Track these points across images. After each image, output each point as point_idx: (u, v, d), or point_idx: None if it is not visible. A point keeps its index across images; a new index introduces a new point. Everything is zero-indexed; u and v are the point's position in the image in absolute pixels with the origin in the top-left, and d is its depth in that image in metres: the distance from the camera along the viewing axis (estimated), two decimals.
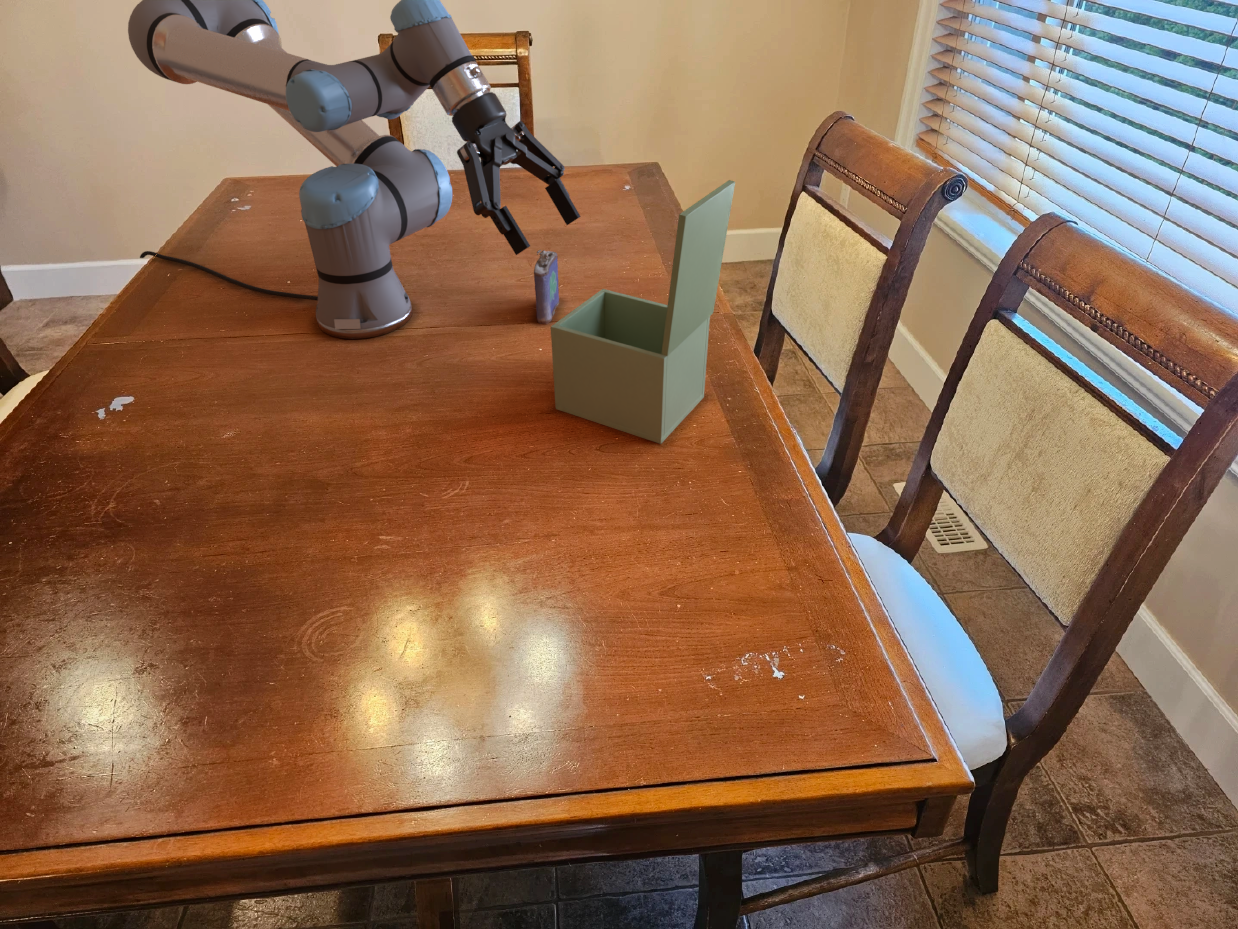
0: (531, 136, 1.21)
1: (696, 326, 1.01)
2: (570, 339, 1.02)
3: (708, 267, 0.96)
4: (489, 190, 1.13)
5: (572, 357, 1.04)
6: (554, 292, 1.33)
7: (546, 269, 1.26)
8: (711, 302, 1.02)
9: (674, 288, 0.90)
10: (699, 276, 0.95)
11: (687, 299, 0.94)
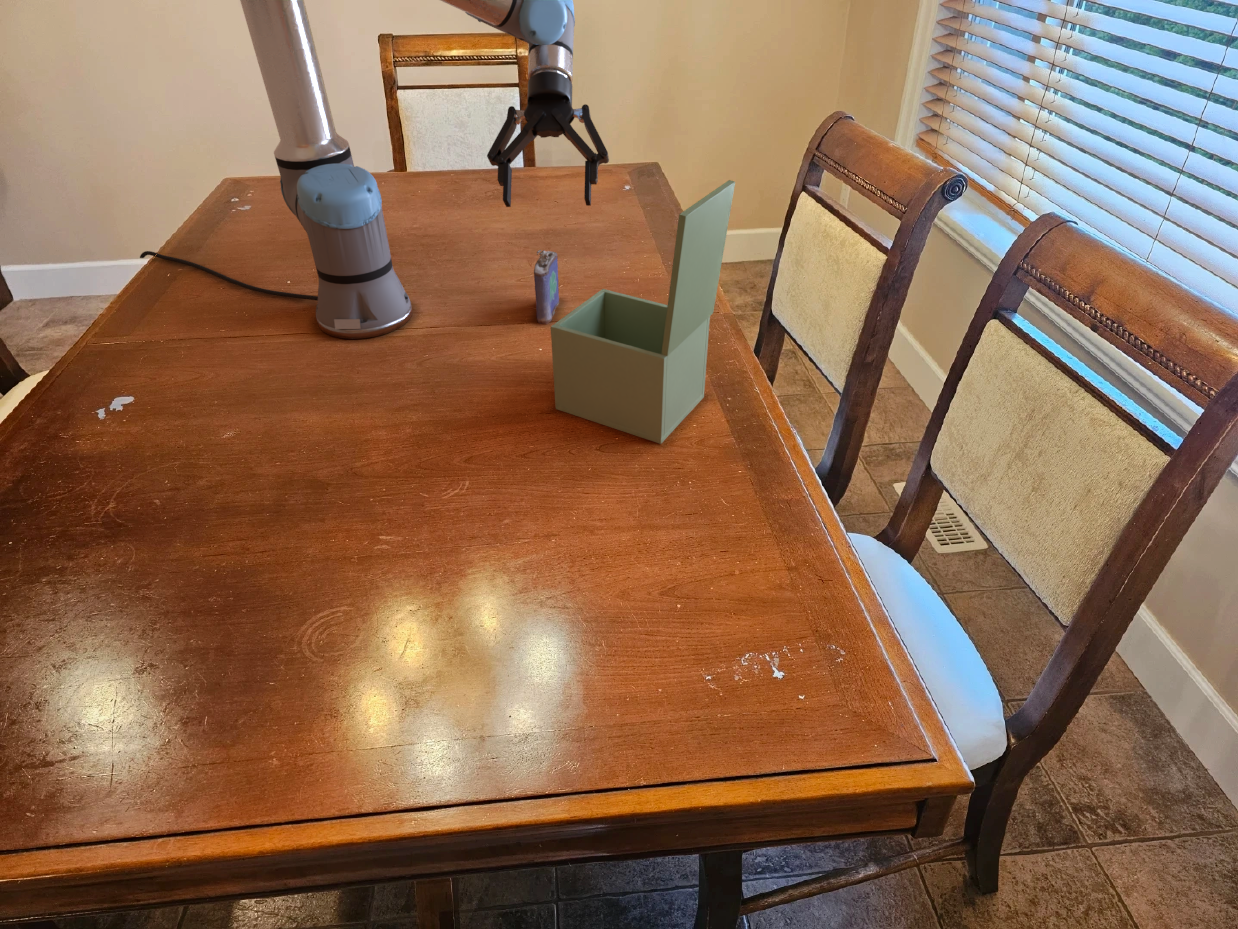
0: None
1: (696, 326, 1.01)
2: (570, 339, 1.02)
3: (708, 267, 0.96)
4: None
5: (572, 357, 1.04)
6: (554, 292, 1.33)
7: (546, 269, 1.26)
8: (711, 302, 1.02)
9: (674, 288, 0.90)
10: (699, 276, 0.95)
11: (687, 299, 0.94)
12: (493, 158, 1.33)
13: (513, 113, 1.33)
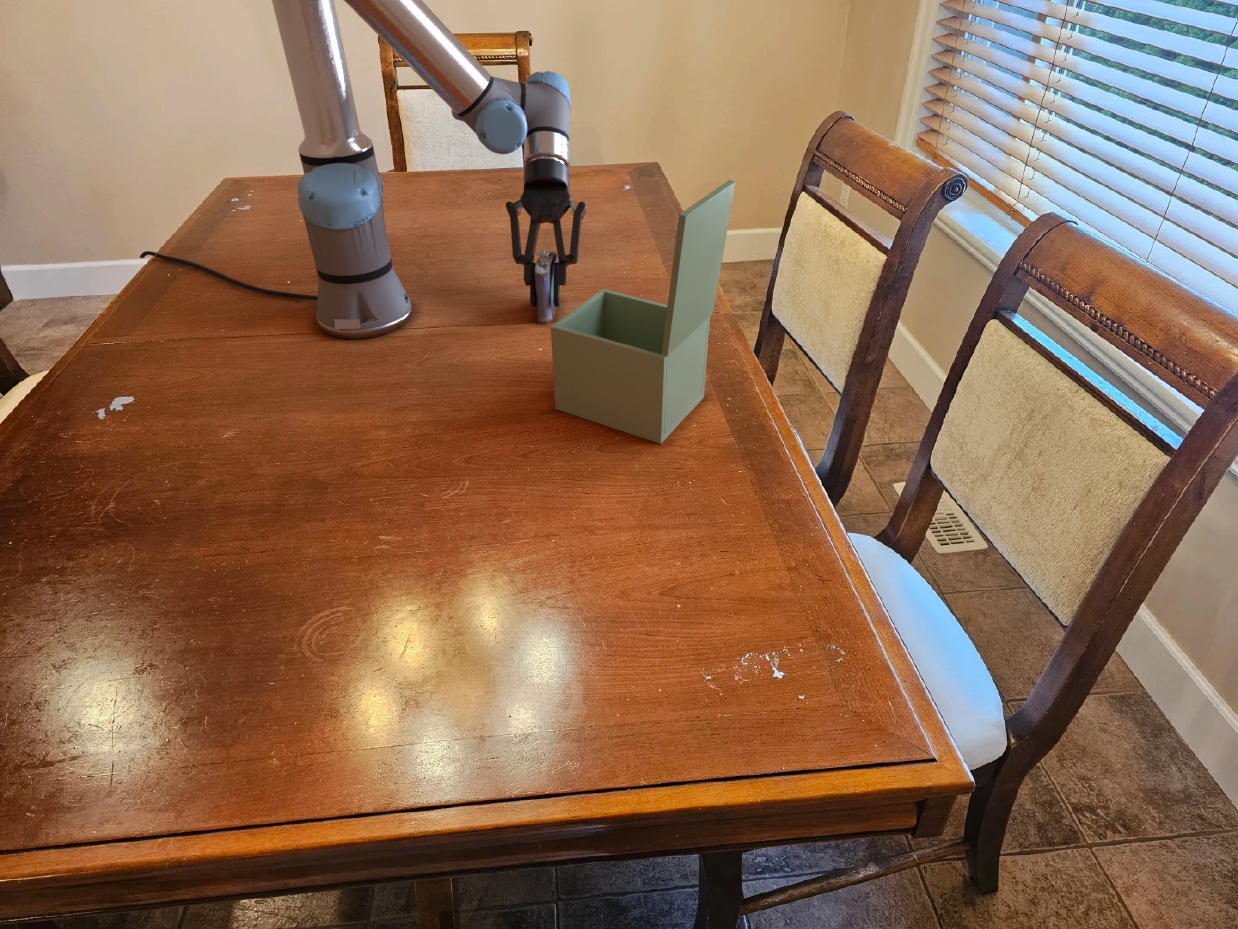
0: None
1: (696, 326, 1.01)
2: (570, 339, 1.02)
3: (708, 267, 0.96)
4: None
5: (572, 357, 1.04)
6: None
7: (547, 269, 1.26)
8: (711, 302, 1.02)
9: (674, 288, 0.90)
10: (699, 276, 0.95)
11: (687, 299, 0.94)
12: (520, 256, 1.29)
13: (513, 207, 1.30)
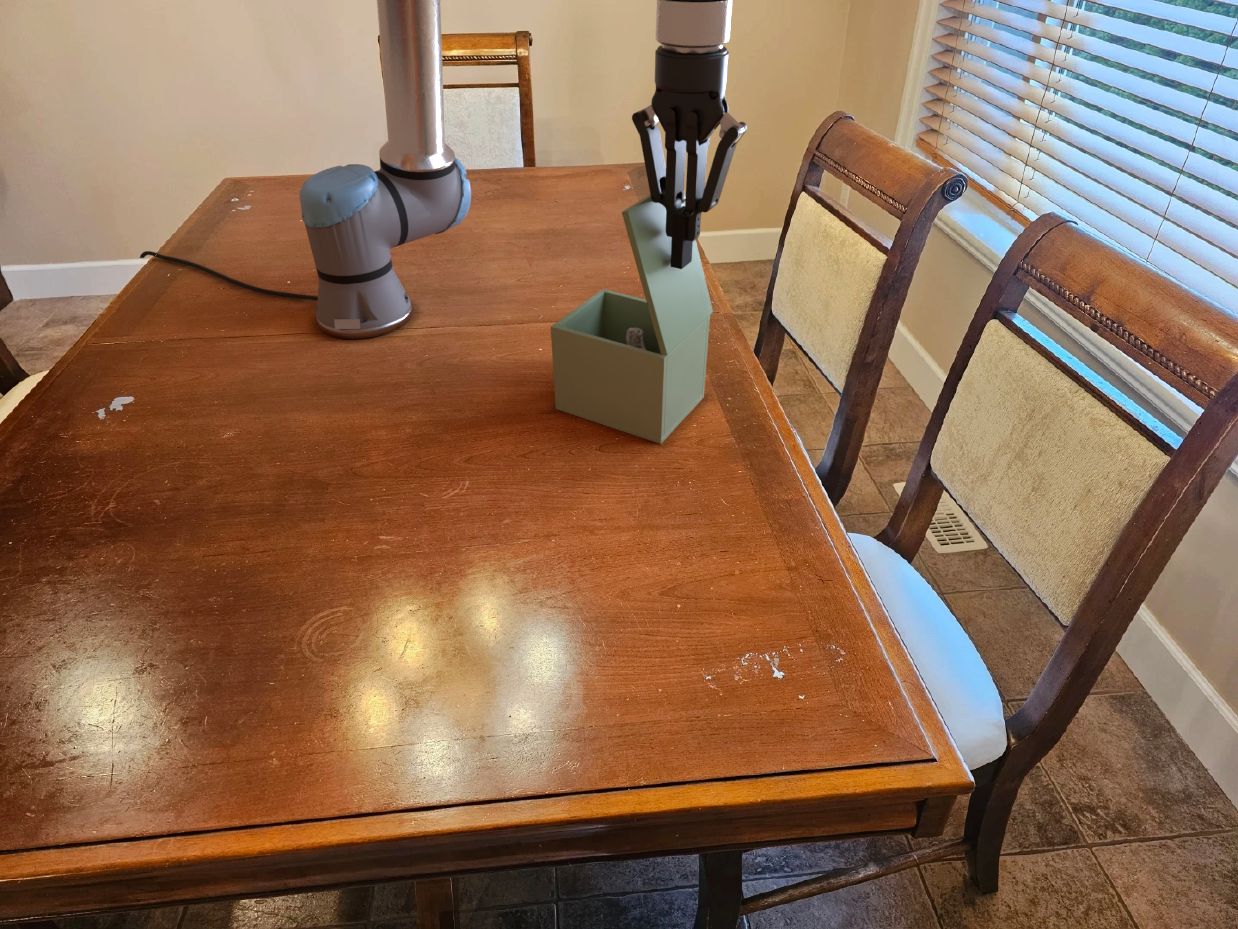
0: None
1: (695, 325, 1.01)
2: (570, 339, 1.02)
3: None
4: (701, 185, 0.89)
5: (572, 357, 1.04)
6: None
7: None
8: (705, 300, 1.03)
9: (646, 284, 0.92)
10: (674, 272, 0.96)
11: (669, 296, 0.95)
12: (661, 198, 0.91)
13: (642, 122, 0.87)
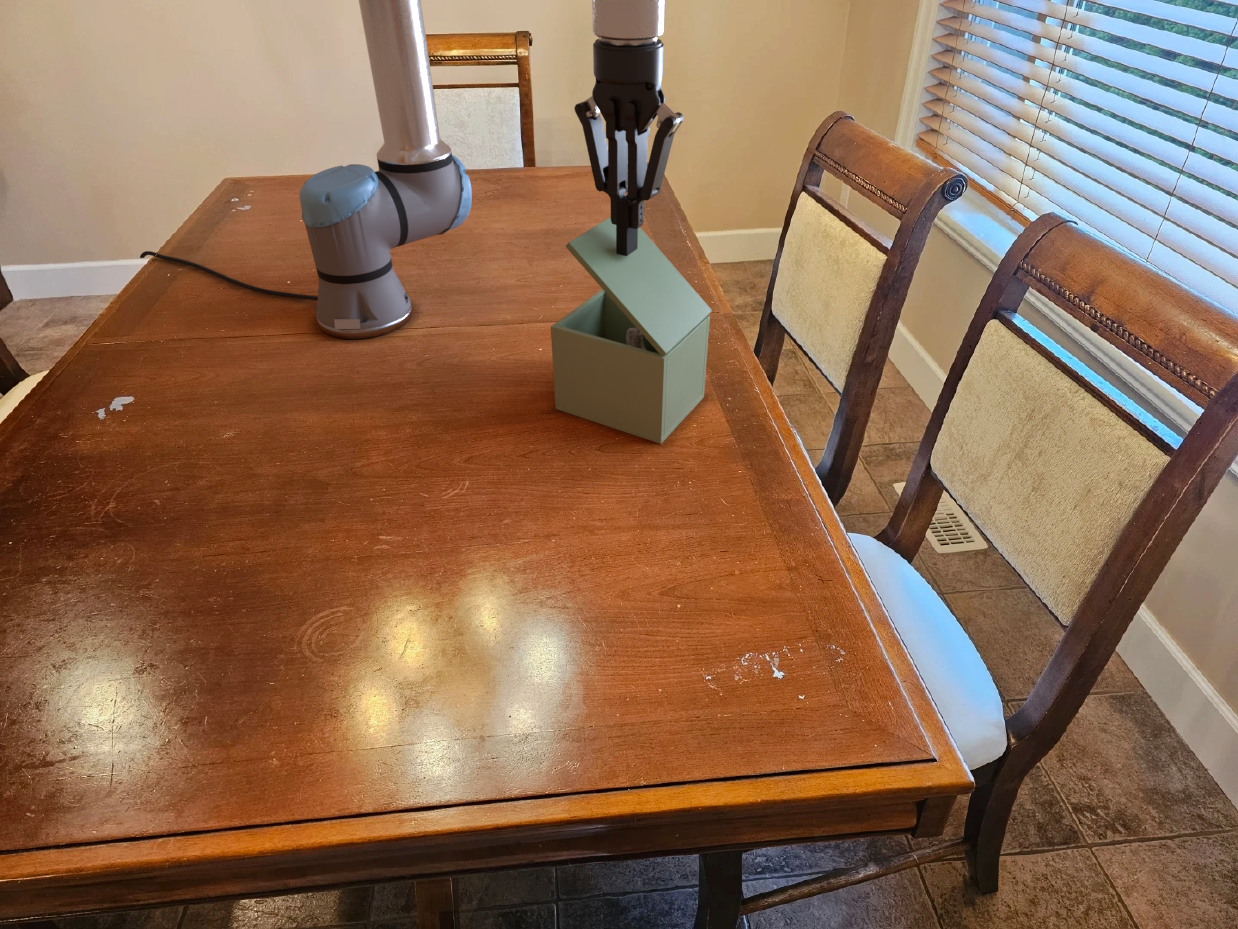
0: None
1: (693, 324, 1.01)
2: (570, 339, 1.02)
3: (654, 274, 1.01)
4: (642, 174, 0.92)
5: (572, 357, 1.04)
6: None
7: None
8: (697, 301, 1.03)
9: (615, 298, 0.95)
10: (646, 283, 0.99)
11: (648, 303, 0.97)
12: (605, 187, 0.94)
13: (584, 113, 0.90)
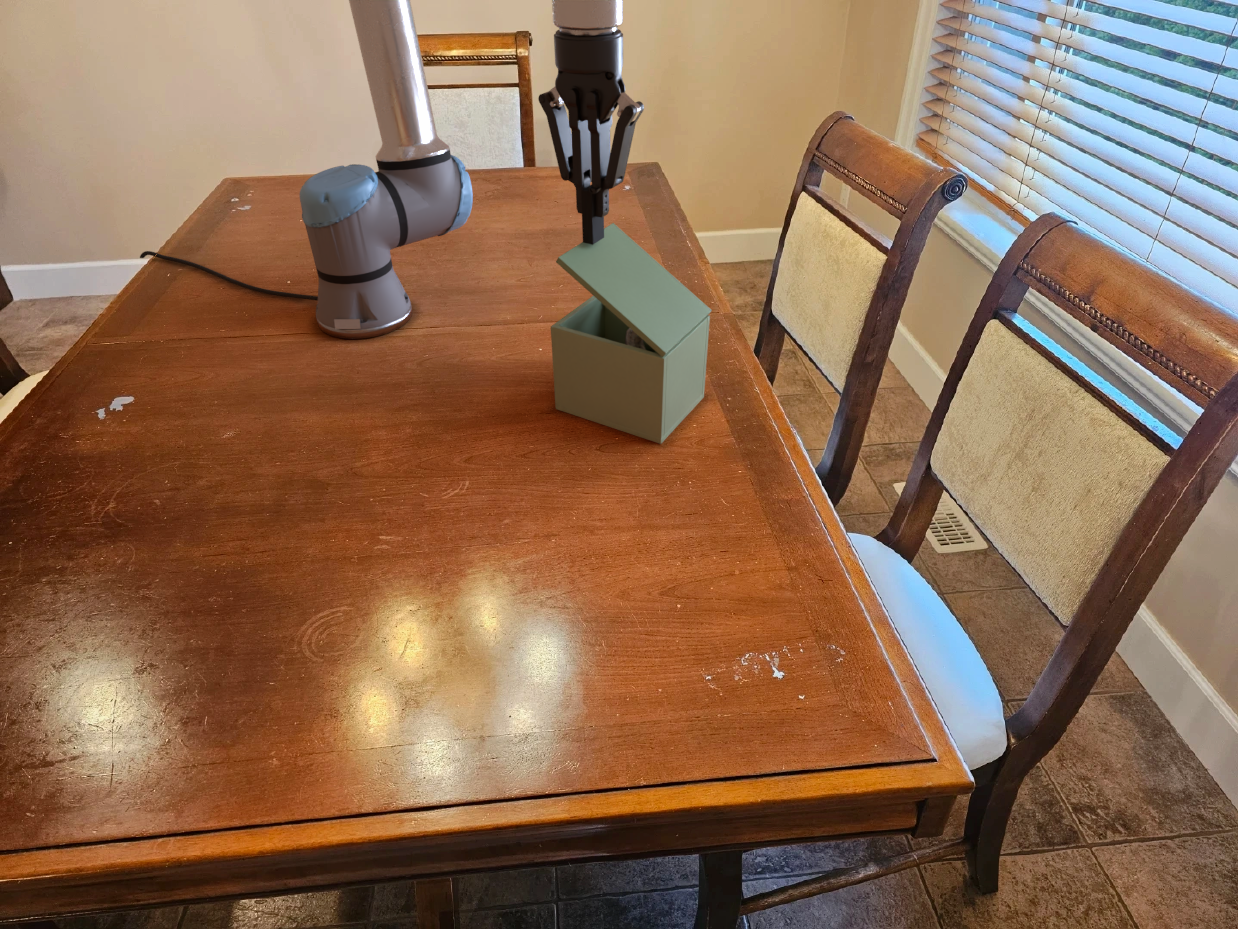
0: None
1: (692, 324, 1.01)
2: (570, 339, 1.02)
3: (648, 280, 1.02)
4: (606, 163, 0.94)
5: (572, 357, 1.04)
6: None
7: None
8: (695, 302, 1.04)
9: (609, 305, 0.96)
10: (641, 289, 1.00)
11: (644, 307, 0.98)
12: (570, 176, 0.96)
13: (548, 103, 0.92)
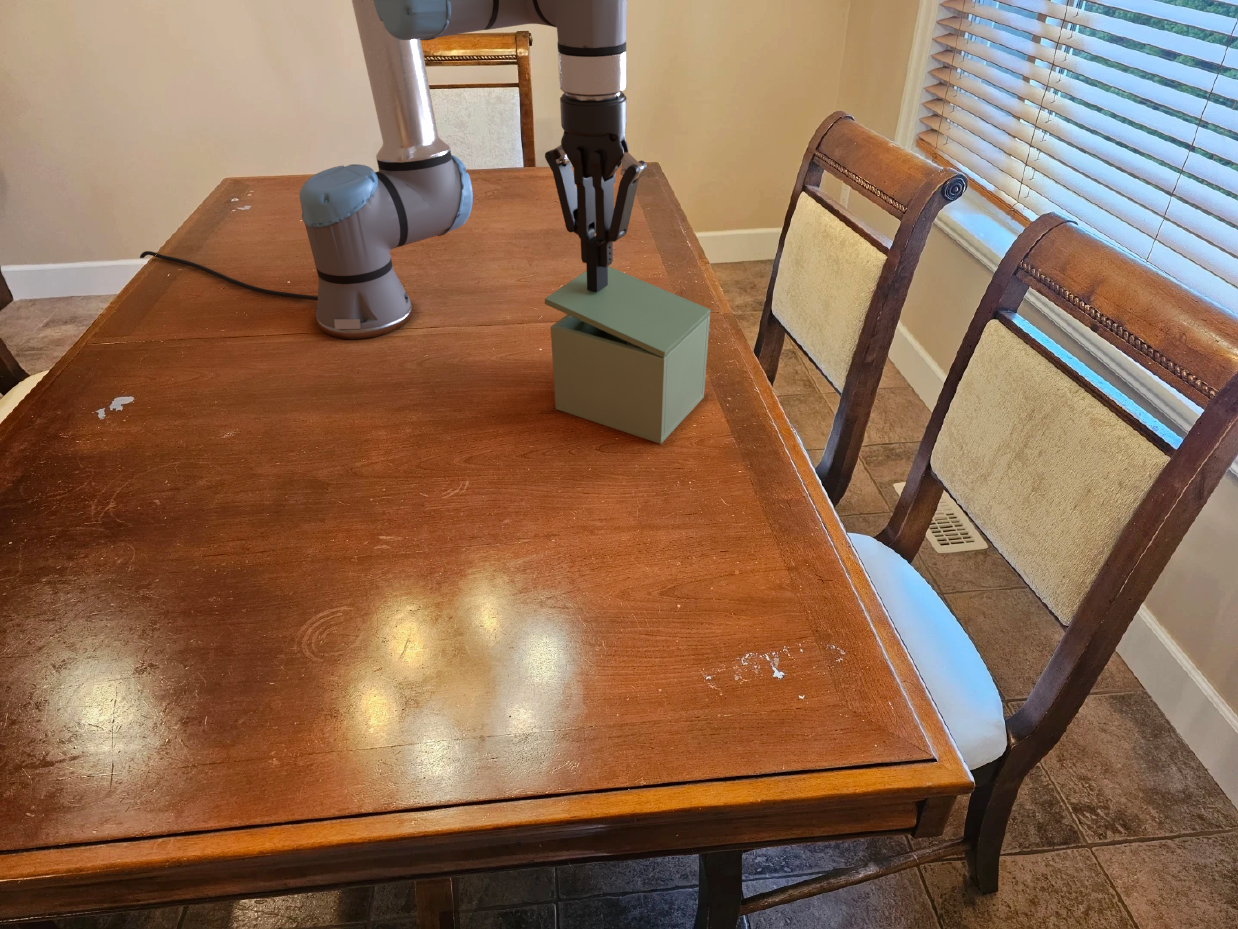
0: None
1: (691, 324, 1.01)
2: (570, 339, 1.02)
3: (640, 299, 1.04)
4: (610, 216, 0.97)
5: (572, 357, 1.04)
6: None
7: None
8: (692, 307, 1.04)
9: (601, 325, 0.98)
10: (633, 306, 1.02)
11: (637, 320, 1.00)
12: (575, 228, 0.99)
13: (554, 160, 0.95)
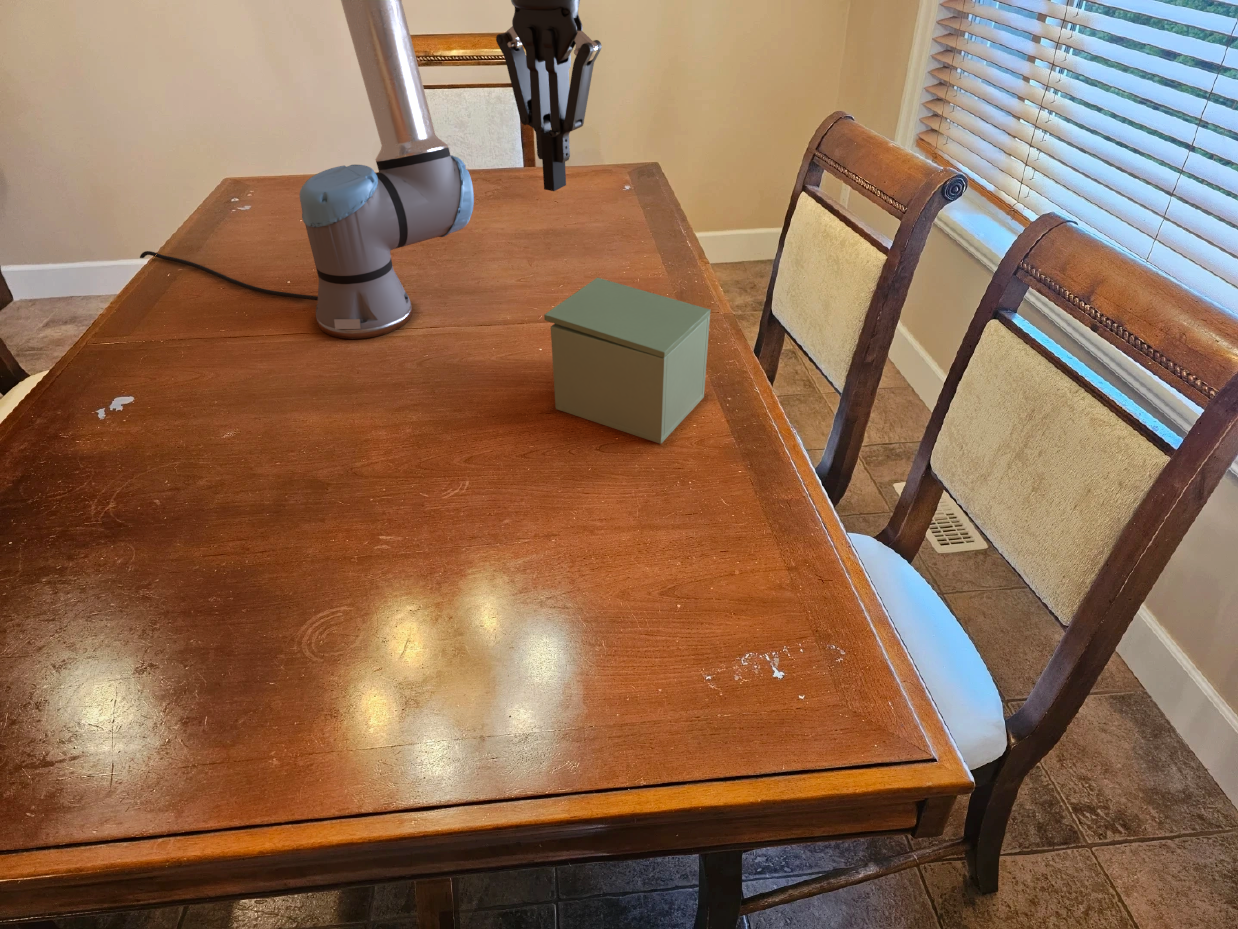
0: None
1: (690, 324, 1.01)
2: (570, 339, 1.02)
3: (639, 306, 1.04)
4: (565, 105, 0.92)
5: (572, 357, 1.04)
6: None
7: None
8: (691, 308, 1.04)
9: (600, 333, 0.99)
10: (631, 314, 1.03)
11: (636, 326, 1.00)
12: (529, 120, 0.94)
13: (505, 43, 0.90)
